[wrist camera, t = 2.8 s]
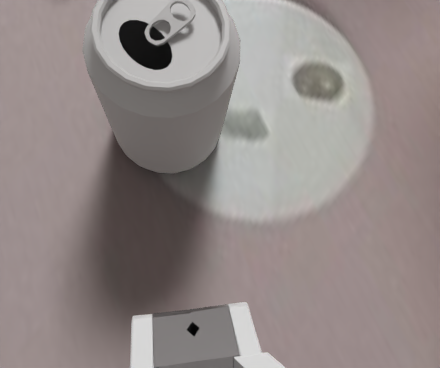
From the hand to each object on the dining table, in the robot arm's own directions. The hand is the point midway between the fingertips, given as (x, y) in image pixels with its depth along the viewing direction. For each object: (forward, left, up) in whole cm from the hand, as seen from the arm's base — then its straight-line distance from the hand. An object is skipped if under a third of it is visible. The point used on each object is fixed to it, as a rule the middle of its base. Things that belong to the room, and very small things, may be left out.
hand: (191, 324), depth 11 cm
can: (0, -12, -17) cm, 21 cm away
